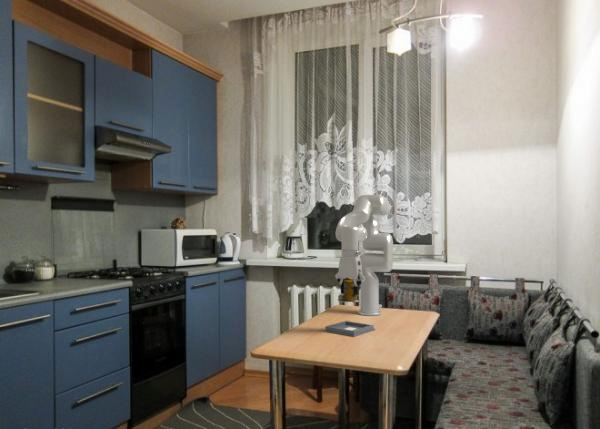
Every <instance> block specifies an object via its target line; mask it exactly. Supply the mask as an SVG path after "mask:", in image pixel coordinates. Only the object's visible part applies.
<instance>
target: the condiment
mask: <svg viewBox="0 0 600 429" xmlns="http://www.w3.org/2000/svg"><path fill="white" fill-rule="evenodd" d="M354 286H355V284H354V281H353V280H351V279H349V278H347V277H346V278H345V279H344V294H343V298H337V301H339V302H341V303H358V302H359V303H360V301H359V300H358V295H356V296H355V295H354Z"/></svg>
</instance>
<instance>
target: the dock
mask: <svg viewBox="0 0 600 429" xmlns="http://www.w3.org/2000/svg"><path fill="white" fill-rule="evenodd" d="M374 326H375V325H374V324H369V323H368V324H367V323H362V322H355V321H350V320H343V321H340V322H336V323H333V324H332V323H331V324H329V325H325V329H323V332H326V333H330V334H331V333H332V334H337V335H343V336H349V337H354V338H355V337H358V336H361V335H363V334H367V333H370V332H373V331H375V330H376V328H374Z"/></svg>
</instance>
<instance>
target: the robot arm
mask: <svg viewBox="0 0 600 429" xmlns="http://www.w3.org/2000/svg"><path fill="white" fill-rule="evenodd" d="M390 210H391V205H390V202H389V200H388V199H387V198H386V197H385V196H384V195H383V194H362V195H359V196H357V198H356V200H355V203H354V206H353V209H352V211H350V212H349V213H347V214H345V215H344V216H342V218H340V219H339V221H338V223H337V226H336V229H335V238H336V240H337V241H339V242H341V256H340V258H339V262H338V271H337V272H336V274H335V275H334V277H335V279H336V280H337V281H338V283H339V286H340V294H341V295H344V279H345V278H346V277H347V278H349V279H351V280H353V281H354V284H355V286H354V295H355V296H356V295H357V296H358V295H360V302H359V304H360V309H358V310H357V314H358V315H361V316H369V317H370V316H371V317H372V316H381V315H382V313H383V312H382V311H381V310H380V309H381V308H382V307H383V305H382V304H380V303H379V302H380V301H379V300H380V294H379V292H380V289H379V288H380V284H379V283H380V281H379V280H380V279H379V277H378V276H377V274H376V273H377V272H378V273H389V272H391V271H392V269H393V264H394V262H393V261H394V242H393V236H392V235H391V233H388V232H380V231H379V227H380V224H379V221H378V220H377V218H376V217H375V216H387V215H388V214H389V213H390ZM359 243H361V245H362V248H363V250H365V251H369V252H367V253H366V252H365V253H362V254H361V251H359V245H360V244H359ZM370 251H372V252H370ZM373 251H374V253H373ZM375 251H376V252H377V251H378V252H383V253H375ZM359 293H360V294H359Z"/></svg>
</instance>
